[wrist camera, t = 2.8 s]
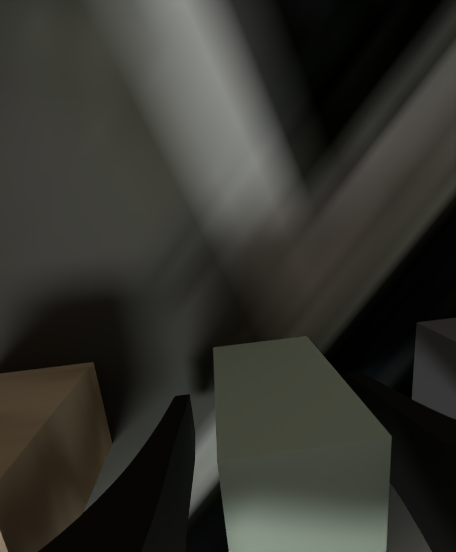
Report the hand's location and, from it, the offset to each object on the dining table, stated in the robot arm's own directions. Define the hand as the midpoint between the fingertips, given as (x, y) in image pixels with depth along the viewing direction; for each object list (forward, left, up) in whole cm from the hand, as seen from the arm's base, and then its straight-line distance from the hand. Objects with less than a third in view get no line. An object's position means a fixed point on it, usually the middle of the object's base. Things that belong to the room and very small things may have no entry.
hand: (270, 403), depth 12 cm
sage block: (0, 0, -2) cm, 2 cm away
